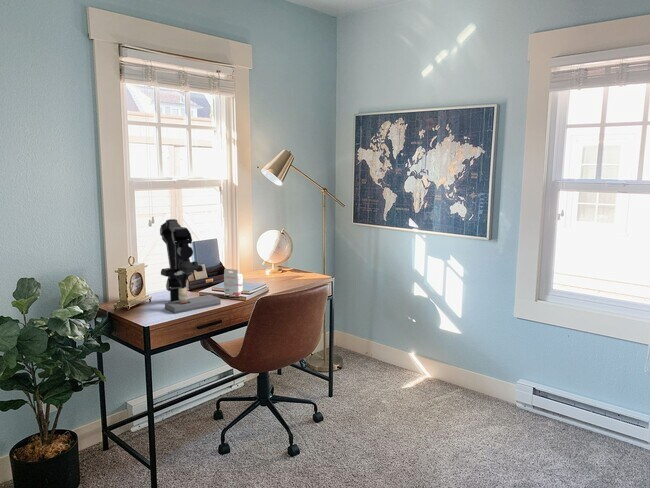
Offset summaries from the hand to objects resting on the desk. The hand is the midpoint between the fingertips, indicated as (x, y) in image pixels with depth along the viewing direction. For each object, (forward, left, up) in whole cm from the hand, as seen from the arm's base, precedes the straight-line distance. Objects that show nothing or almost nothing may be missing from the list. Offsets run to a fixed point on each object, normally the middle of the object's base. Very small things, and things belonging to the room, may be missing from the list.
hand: (183, 288), depth 246 cm
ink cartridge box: (-25, +18, -10) cm, 32 cm away
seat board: (-4, +3, -10) cm, 11 cm away
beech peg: (0, 0, -9) cm, 9 cm away
